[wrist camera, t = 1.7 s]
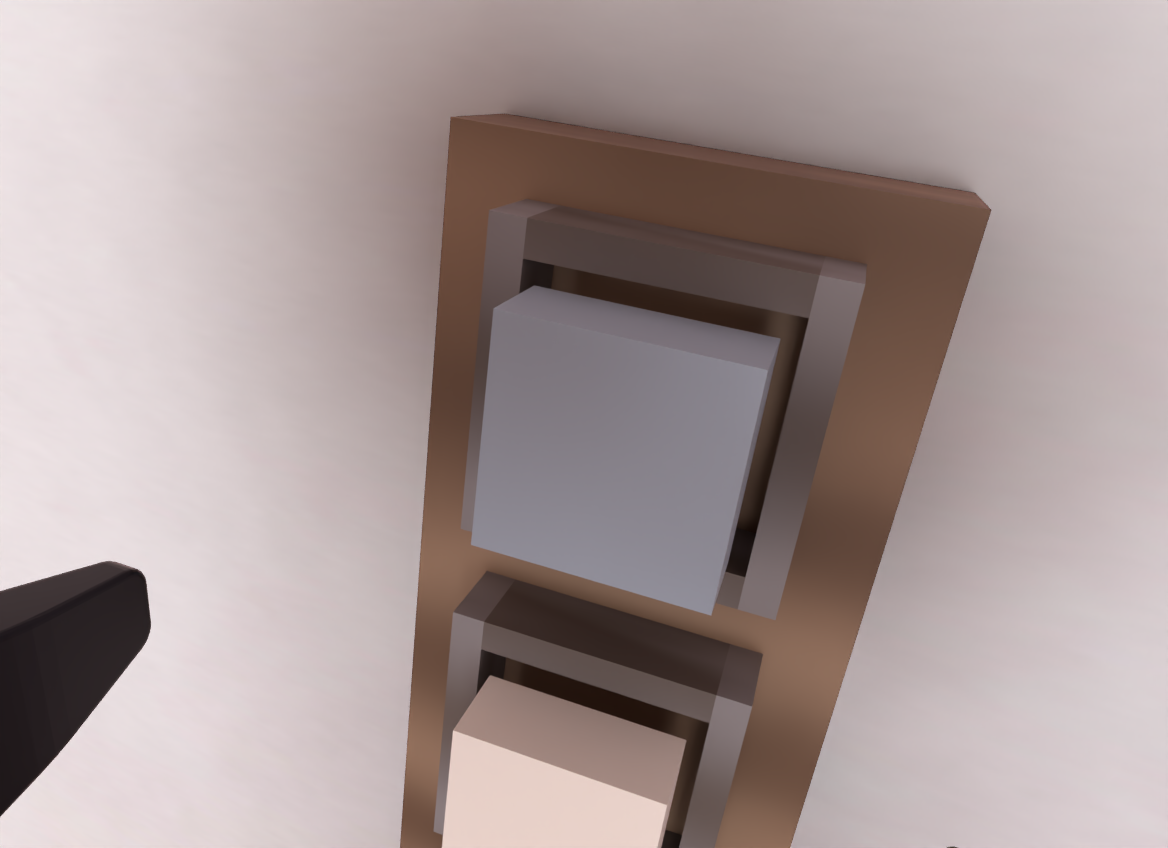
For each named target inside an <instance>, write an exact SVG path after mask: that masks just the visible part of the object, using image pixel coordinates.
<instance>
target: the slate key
mask: <svg viewBox="0 0 1168 848" xmlns="http://www.w3.org/2000/svg"><path fill="white" fill-rule="evenodd" d="M779 343H780V338H776V337H771V336H766V335H762V334H757V333H752V332H748V331H743V330H738V329H734V328H729V327H725V326H720V325H715V324H711V323H706V322H701V321H697V320H692V319H687V318H683V317H678V316H674V315H669V314H664V313H660V312H655V311H650V310H646V309H641V308H637V307H632V306H627V305H623V304H618V303H613V302H609V301H604V300H599V299H595V298H590V297H586V296H581V295H576V294H572V293H567V292H562V291H558V290H553V289H548V288H544V287H539V286H535V285H534V286H532V287H531V288H529V289H527V290H525V291H523V292H522V293H520V294H518V295H516V296H515V297H513V298H511V299H509V300H508V301H506V302H504V303H502V304H500V305H499V306H497V307H495V308H494V309H493V319H492V330H491V340H490V351H489V361H488V371H487V382H486V392H485V403H484V413H483V424H482V434H481V445H480V455H479V465H478V476H477V486H476V497H475V507H474V518H473V528H472V539H471V545H473V546H477V547H480V548H483V549H487V550H490V551H494V552H497V553H500V554H504V555H507V556H510V557H514V558H517V559H521V560H524V561H527V562H531V563H534V564H538V565H541V566H544V567H548V568H551V569H555V570H558V571H561V572H565V573H568V574H572V575H575V576H578V577H582V578H585V579H589V580H592V581H595V582H599V583H602V584H605V585H609V586H612V587H616V588H619V589H622V590H626V591H629V592H633V593H636V594H639V595H643V596H646V597H650V598H653V599H656V600H660V601H663V602H667V603H670V604H673V605H677V606H680V607H683V608H687V609H690V610H694V611H697V612H700V613H704V614H707V615H712V612H713V608H714V605H715V602H716V599H717V596H718V593H719V590H720V587H721V583H722V580H723V577H724V574H725V571H726V568H727V565H728V561H729V557H730V553H731V548H732V544H733V540H734V535H735V531H736V527H737V523H738V518H739V514H740V510H741V506H742V501H743V497H744V493H745V489H746V484H747V480H748V476H749V471H750V467H751V463H752V459H753V454H754V450H755V446H756V442H757V437H758V433H759V429H760V425H761V420H762V416H763V412H764V407H765V403H766V399H767V395H768V390H769V386H770V382H771V378H772V373H773V369H774V365H775V361H776V356H777V352H778V348H779Z"/></svg>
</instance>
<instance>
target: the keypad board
mask: <svg viewBox="0 0 1168 848" xmlns="http://www.w3.org/2000/svg"><path fill="white" fill-rule="evenodd" d="M990 212H991V209H990V208H989V207H988V206H987V205H986V204H985V203H984V202H983V201H982V200H981V199H980V197H979V196H978V195H977V194H976V193H973V192H967V191H961V190H955V189H949V188H943V187H937V186H931V185H925V184H919V183H913V182H907V181H901V180H895V179H889V178H883V177H878V176H872V175H866V174H860V173H854V172H848V171H842V170H836V169H830V168H824V167H818V166H812V165H806V164H800V163H794V162H789V161H783V160H777V159H771V158H765V157H759V156H753V155H747V154H741V153H735V152H729V151H723V150H717V149H711V148H705V147H699V146H694V145H688V144H682V143H676V142H670V141H664V140H658V139H652V138H646V137H640V136H634V135H628V134H622V133H616V132H610V131H605V130H599V129H593V128H587V127H581V126H575V125H569V124H563V123H557V122H551V121H545V120H539V119H533V118H527V117H521V116H515V115H510V114H491V115H474V116H457V117H451V121H450V135H449V149H448V164H447V178H446V193H445V207H444V222H443V236H442V250H441V265H440V279H439V294H438V308H437V323H436V337H435V351H434V366H433V380H432V395H431V409H430V423H429V438H428V452H427V467H426V481H425V496H424V510H423V524H422V539H421V553H420V568H419V582H418V597H417V611H416V625H415V640H414V654H413V669H412V683H411V698H410V712H409V726H408V741H407V755H406V770H405V784H404V799H403V813H402V827H401V842H400V848H442V841H443V830H444V820H445V810H446V799H447V789H448V778H449V768H450V757H451V747H452V736H453V730H454V728H455V727H456V725H457V724H458V722H459V721H460V719H461V718H462V716H463V715H464V713H465V712H466V710H467V709H468V707H469V706H470V704H471V703H472V701H473V700H474V698H475V697H476V695H477V694H478V692H479V691H480V689H481V688H482V686H483V685H484V683H485V682H486V680H487V679H488V677H489V676H490V675H491V676H494V677H497V678H500V679H503V680H506V681H509V682H512V683H515V684H518V685H521V686H524V687H527V688H530V689H533V690H536V691H539V692H542V693H545V694H548V695H551V696H555V697H558V698H561V699H564V700H567V701H570V702H573V703H576V704H579V705H582V706H585V707H588V708H591V709H594V710H597V711H600V712H603V713H606V714H609V715H612V716H615V717H618V718H621V719H624V720H627V721H630V722H633V723H636V724H639V725H642V726H645V727H648V728H651V729H654V730H657V731H660V732H663V733H666V734H669V735H672V736H675V737H679V738H682V739H685V740H686V744H685V749H684V753H683V757H682V761H681V766H680V770H679V774H678V778H677V783H676V787H675V791H674V795H673V800H672V804H671V808H670V813H669V817H668V821H667V825H666V830H665V834H664V838H663V842H662V847H661V848H790V846H791V843H792V840H793V836H794V833H795V830H796V827H797V824H798V821H799V817H800V814H801V811H802V808H803V805H804V802H805V798H806V795H807V792H808V789H809V786H810V783H811V779H812V776H813V773H814V770H815V767H816V764H817V760H818V757H819V754H820V751H821V748H822V745H823V741H824V738H825V735H826V732H827V729H828V726H829V722H830V719H831V716H832V713H833V710H834V707H835V703H836V700H837V697H838V694H839V691H840V688H841V684H842V681H843V678H844V675H845V672H846V668H847V665H848V662H849V659H850V656H851V653H852V649H853V646H854V643H855V640H856V637H857V634H858V630H859V627H860V624H861V621H862V618H863V615H864V611H865V608H866V605H867V602H868V599H869V596H870V592H871V589H872V586H873V583H874V580H875V577H876V573H877V570H878V567H879V564H880V561H881V558H882V554H883V551H884V548H885V545H886V542H887V539H888V535H889V532H890V529H891V526H892V523H893V520H894V516H895V513H896V510H897V507H898V504H899V501H900V497H901V494H902V491H903V488H904V485H905V482H906V478H907V475H908V472H909V469H910V466H911V463H912V459H913V456H914V453H915V450H916V447H917V444H918V440H919V437H920V434H921V431H922V428H923V425H924V421H925V418H926V415H927V412H928V409H929V406H930V402H931V399H932V396H933V393H934V390H935V387H936V383H937V380H938V377H939V374H940V371H941V368H942V364H943V361H944V358H945V355H946V352H947V348H948V345H949V342H950V339H951V336H952V333H953V329H954V326H955V323H956V320H957V317H958V314H959V310H960V307H961V304H962V301H963V298H964V295H965V291H966V288H967V285H968V282H969V279H970V276H971V272H972V269H973V266H974V263H975V260H976V257H977V253H978V250H979V247H980V244H981V241H982V238H983V234H984V231H985V228H986V225H987V222H988V219H989V215H990ZM534 285H535V286H539V287H544V288H548V289H553V290H558V291H562V292H567V293H572V294H576V295H581V296H586V297H590V298H595V299H599V300H604V301H609V302H613V303H618V304H623V305H627V306H632V307H637V308H641V309H646V310H650V311H655V312H660V313H664V314H669V315H674V316H678V317H683V318H687V319H692V320H697V321H701V322H706V323H711V324H715V325H720V326H725V327H729V328H734V329H738V330H743V331H748V332H752V333H757V334H762V335H766V336H771V337H776V338H780V343H779V348H778V352H777V356H776V361H775V365H774V369H773V373H772V378H771V382H770V386H769V390H768V395H767V399H766V403H765V407H764V412H763V416H762V420H761V425H760V429H759V433H758V437H757V442H756V446H755V450H754V454H753V459H752V463H751V467H750V471H749V476H748V480H747V484H746V489H745V493H744V497H743V501H742V506H741V510H740V514H739V518H738V523H737V527H736V531H735V535H734V540H733V544H732V548H731V553H730V557H729V561H728V565H727V568H726V571H725V574H724V577H723V580H722V583H721V587H720V590H719V593H718V596H717V599H716V602H715V605H714V608H713V612H712V615H707V614H704V613H700V612H697V611H694V610H690V609H687V608H683V607H680V606H677V605H673V604H670V603H667V602H663V601H660V600H656V599H653V598H650V597H646V596H643V595H639V594H636V593H633V592H629V591H626V590H622V589H619V588H616V587H612V586H609V585H605V584H602V583H599V582H595V581H592V580H589V579H585V578H582V577H578V576H575V575H572V574H568V573H565V572H561V571H558V570H555V569H551V568H548V567H544V566H541V565H538V564H534V563H531V562H527V561H524V560H521V559H517V558H514V557H510V556H507V555H504V554H500V553H497V552H494V551H490V550H487V549H483V548H480V547H477V546H473V545H471V539H472V528H473V518H474V507H475V497H476V486H477V476H478V465H479V455H480V445H481V434H482V424H483V413H484V403H485V392H486V382H487V371H488V361H489V351H490V340H491V330H492V319H493V309H494V308H495V307H497V306H499V305H500V304H502V303H504V302H506V301H508V300H509V299H511V298H513V297H515V296H516V295H518V294H520V293H522V292H523V291H525V290H527V289H529V288H531V287H532V286H534Z"/></svg>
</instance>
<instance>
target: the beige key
mask: <svg viewBox="0 0 1168 848" xmlns="http://www.w3.org/2000/svg"><path fill="white" fill-rule="evenodd" d="M685 744H686V740H685V739H682V738H679V737H675V736H672V735H669V734H666V733H663V732H660V731H657V730H654V729H651V728H648V727H645V726H642V725H639V724H636V723H633V722H630V721H627V720H624V719H621V718H618V717H615V716H612V715H609V714H606V713H603V712H600V711H597V710H594V709H591V708H588V707H585V706H582V705H579V704H576V703H573V702H570V701H567V700H564V699H561V698H558V697H555V696H551V695H548V694H545V693H542V692H539V691H536V690H533V689H530V688H527V687H524V686H521V685H518V684H515V683H512V682H509V681H506V680H503V679H500V678H497V677H494V676H491V675H490V676H489V677H488V679H487V680H486V682H485V683H484V685H483V686H482V688H481V689H480V691H479V692H478V694H477V695H476V697H475V698H474V700H473V701H472V703H471V704H470V706H469V707H468V709H467V710H466V712H465V713H464V715H463V716H462V718H461V719H460V721H459V722H458V724H457V725H456V727H455V728H454V730H453V736H452V747H451V757H450V768H449V778H448V789H447V799H446V810H445V820H444V830H443V841H442V848H661V847H662V842H663V838H664V834H665V830H666V825H667V821H668V817H669V813H670V808H671V804H672V800H673V795H674V791H675V787H676V783H677V778H678V774H679V770H680V766H681V761H682V757H683V753H684V749H685Z"/></svg>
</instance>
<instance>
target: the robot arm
mask: <svg viewBox="0 0 1168 848" xmlns="http://www.w3.org/2000/svg"><path fill="white" fill-rule="evenodd" d="M150 629H151V619H150V610H149V601H148V593H147V584H146V579H145V576H144V575H143V573H142V572H141V571H139V570H138V569H135V568H132V567H129V566H126V565H123V564H120V563H117V562H113V561H105V562H101V563H98V564H94V565H91V566H87V567H84V568H80V569H76V570H73V571H69V572H66V573H62V574H59V575H55V576H52V577H48V578H45V579H41V580H38V581H34V582H31V583H27V584H24V585H20V586H17V587H13V588H10V589H6V590H3V591H0V816H1V815H2V814H3V813H4V812H5V811H6V810H7V809H8V808H9V807H10V806H11V805H12V804H13V803H14V802H15V801H16V799H17V798H18V797H19V796H20V795H21V794H22V793H23V792H24V791H25V790H26V789H27V788H28V787H29V786H30V785H31V784H32V782H33V781H34V780H35V779H36V778H37V777H38V776H39V775H40V774H41V773H42V772H43V771H44V770H45V768H46V767H47V766H48V765H49V764H50V763H51V762H52V761H53V760H54V758H55V757H56V756H57V755H58V754H59V753H60V751H61V750H62V749H63V748H64V747H65V745H66V744H67V743H68V742H69V741H70V739H71V738H72V737H73V736H74V734H75V733H76V732H77V731H78V729H79V728H80V727H81V725H82V724H83V723H84V722H85V720H86V719H87V718H88V717H89V715H90V714H91V713H92V711H93V710H94V709H95V708H96V706H97V705H98V704H99V702H100V701H101V700H102V699H103V697H104V696H105V695H106V694H107V692H108V691H109V690H110V688H111V687H112V686H113V685H114V683H115V682H116V681H117V680H118V678H119V677H120V676H121V674H122V673H123V672H124V671H125V669H126V668H127V667H128V666H129V664H130V663H131V662H132V660H133V659H134V658H135V657H136V655H137V654H138V653H139V652H140V650H141V649H142V648H143V646H144V645H145V643H146V641H147V639H148V636H149V633H150ZM947 848H957V847H947Z"/></svg>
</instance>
